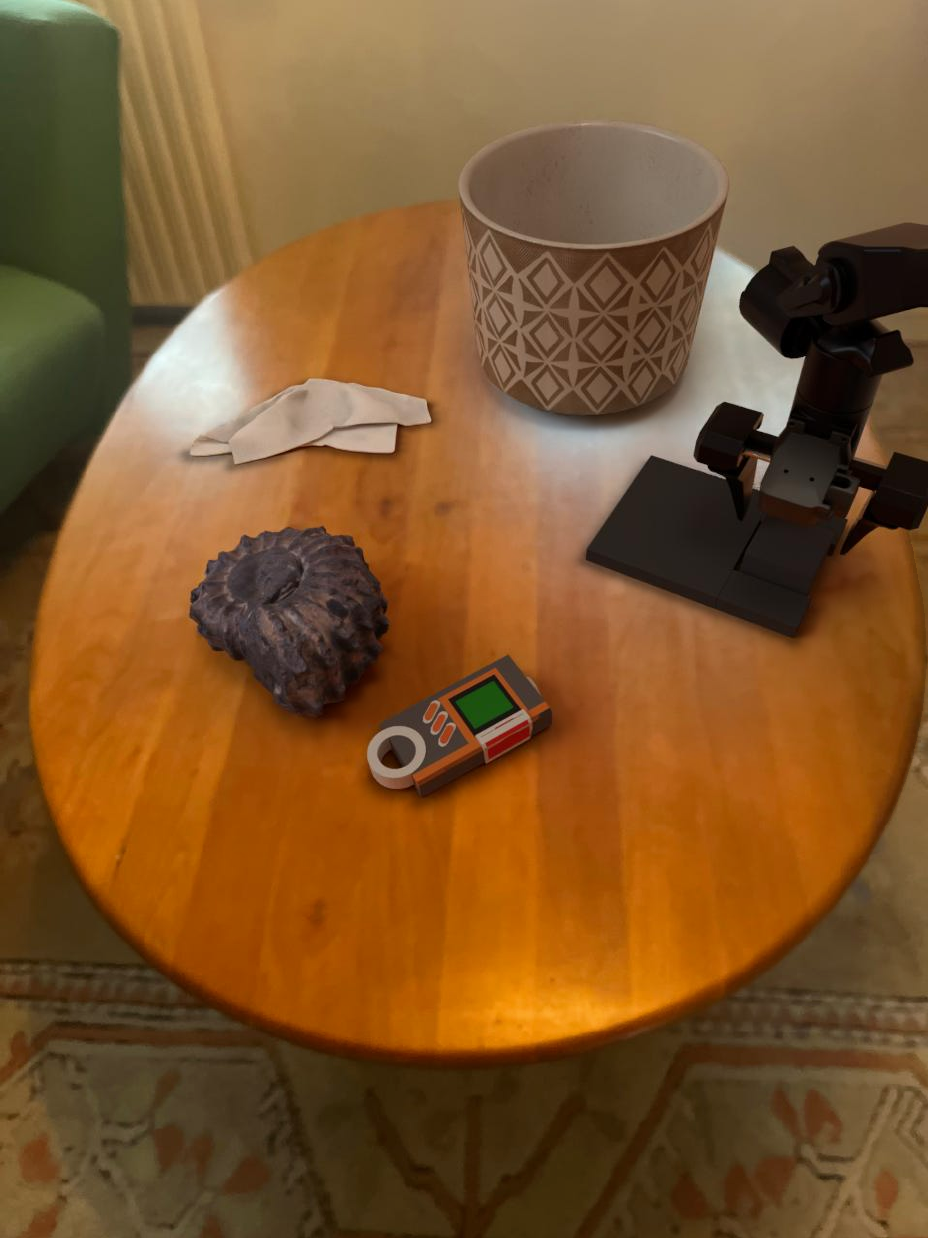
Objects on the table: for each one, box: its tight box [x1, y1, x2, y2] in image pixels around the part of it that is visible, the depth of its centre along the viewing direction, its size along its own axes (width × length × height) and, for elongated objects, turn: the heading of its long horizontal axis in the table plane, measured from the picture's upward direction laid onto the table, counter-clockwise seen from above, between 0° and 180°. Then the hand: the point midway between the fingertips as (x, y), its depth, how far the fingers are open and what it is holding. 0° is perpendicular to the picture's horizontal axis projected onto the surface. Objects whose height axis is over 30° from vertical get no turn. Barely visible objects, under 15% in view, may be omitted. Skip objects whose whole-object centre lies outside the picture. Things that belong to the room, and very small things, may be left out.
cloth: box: [189, 377, 432, 466], centre depth 104 cm, size 26×14×2 cm, turn 91°
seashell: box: [188, 525, 390, 718], centre depth 81 cm, size 20×13×15 cm
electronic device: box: [366, 654, 553, 798], centre depth 77 cm, size 7×3×15 cm
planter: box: [458, 119, 730, 416], centre depth 101 cm, size 26×26×22 cm
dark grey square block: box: [739, 514, 835, 597], centre depth 87 cm, size 6×6×4 cm
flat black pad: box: [585, 455, 849, 639], centre depth 90 cm, size 20×15×2 cm
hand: (791, 534), depth 85 cm, fingers open, 9 cm apart
